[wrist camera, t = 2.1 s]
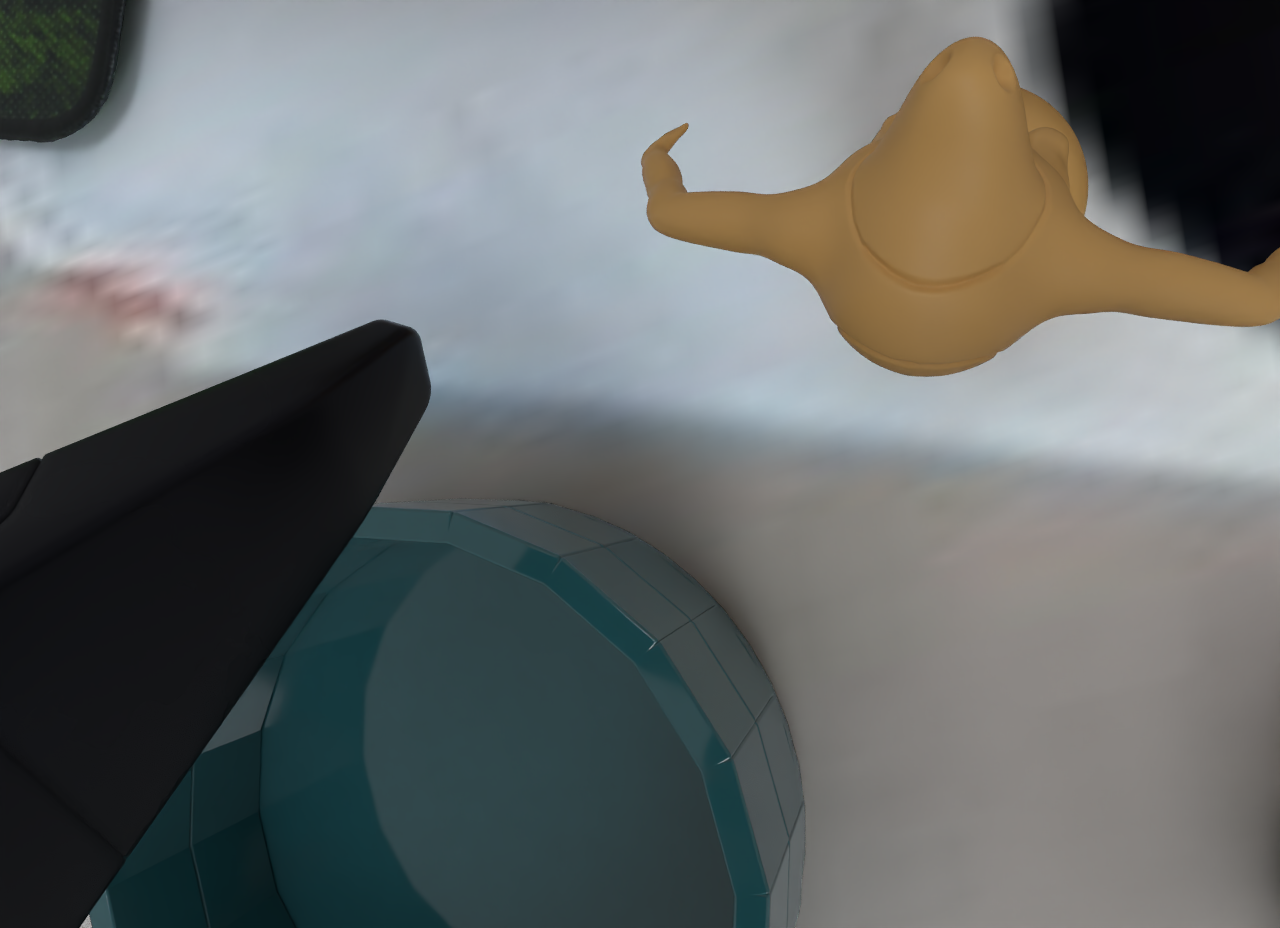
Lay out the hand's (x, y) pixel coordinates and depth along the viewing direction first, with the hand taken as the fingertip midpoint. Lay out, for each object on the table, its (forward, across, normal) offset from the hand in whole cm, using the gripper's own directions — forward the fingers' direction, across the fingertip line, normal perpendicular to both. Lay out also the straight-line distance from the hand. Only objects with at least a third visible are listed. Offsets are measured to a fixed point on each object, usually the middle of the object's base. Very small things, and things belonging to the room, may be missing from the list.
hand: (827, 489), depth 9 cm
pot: (+1, +6, +14) cm, 16 cm away
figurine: (+11, 0, +5) cm, 12 cm away
